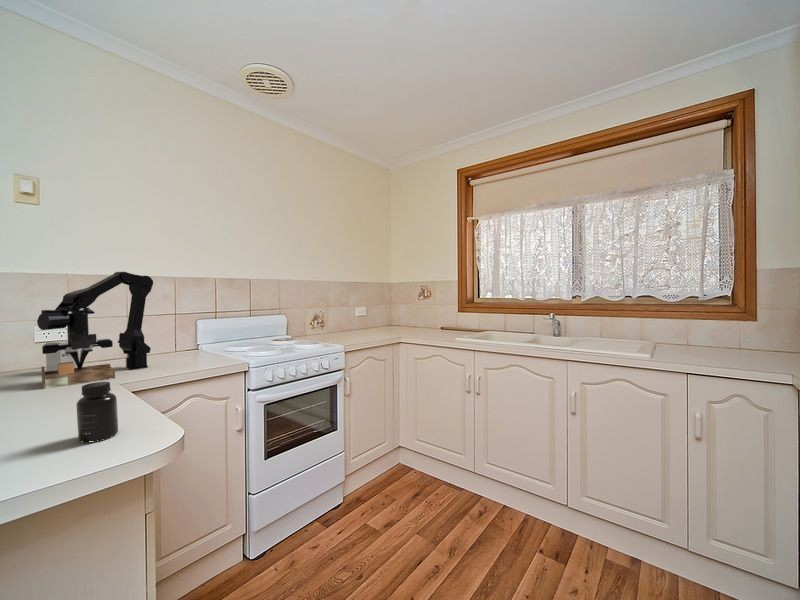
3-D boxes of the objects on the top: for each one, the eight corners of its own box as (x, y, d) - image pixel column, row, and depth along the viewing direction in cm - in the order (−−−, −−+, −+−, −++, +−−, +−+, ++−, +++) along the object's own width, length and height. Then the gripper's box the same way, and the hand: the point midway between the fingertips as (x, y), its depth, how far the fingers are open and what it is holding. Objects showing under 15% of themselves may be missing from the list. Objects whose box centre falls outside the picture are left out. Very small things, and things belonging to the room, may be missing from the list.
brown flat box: (110, 373, 139) (109, 358, 139) (115, 378, 132) (114, 362, 132) (42, 383, 125) (41, 366, 125) (43, 388, 118) (42, 371, 118)
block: (73, 372, 129) (72, 361, 129) (74, 374, 126) (73, 363, 126) (57, 374, 126) (57, 363, 126) (58, 376, 123) (58, 364, 123)
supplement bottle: (94, 431, 82) (92, 380, 81) (125, 430, 82) (123, 379, 82) (69, 444, 75) (66, 388, 74) (103, 443, 75) (101, 387, 75)
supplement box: (60, 374, 138) (59, 342, 138) (46, 373, 140) (44, 342, 140) (80, 370, 146) (79, 340, 145) (66, 369, 147) (65, 339, 147)
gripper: (42, 331, 116) (44, 377, 116) (114, 326, 129) (116, 368, 130) (41, 328, 123) (43, 372, 124) (109, 324, 137) (111, 363, 137)
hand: (79, 369), depth 129 cm, fingers closed
